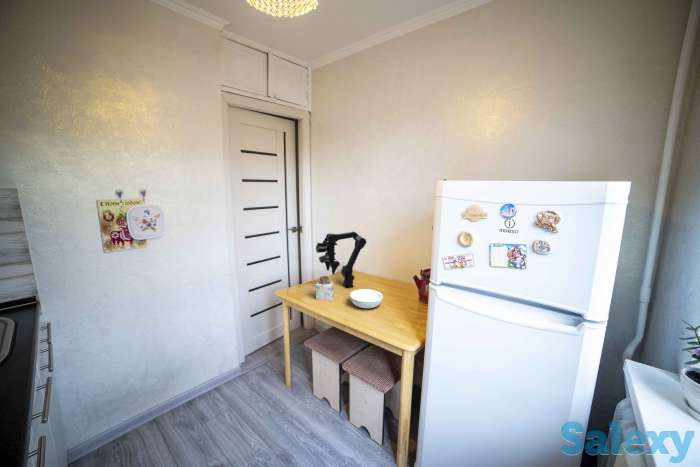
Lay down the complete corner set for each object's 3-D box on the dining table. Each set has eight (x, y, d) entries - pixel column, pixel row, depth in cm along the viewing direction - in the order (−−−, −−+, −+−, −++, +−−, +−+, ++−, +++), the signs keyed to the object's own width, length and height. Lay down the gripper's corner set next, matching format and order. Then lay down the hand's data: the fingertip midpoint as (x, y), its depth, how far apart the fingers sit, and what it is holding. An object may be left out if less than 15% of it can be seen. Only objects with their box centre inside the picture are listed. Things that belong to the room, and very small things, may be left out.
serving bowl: (378, 314, 163) (379, 303, 162) (345, 309, 169) (345, 298, 168) (385, 300, 183) (385, 291, 182) (354, 296, 189) (355, 287, 188)
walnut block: (326, 281, 187) (326, 275, 186) (329, 283, 182) (329, 277, 182) (319, 282, 184) (319, 276, 184) (322, 284, 180) (322, 279, 179)
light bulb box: (333, 296, 188) (333, 281, 186) (331, 300, 181) (331, 285, 180) (317, 295, 189) (317, 280, 187) (315, 299, 182) (315, 284, 181)
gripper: (315, 249, 201) (315, 270, 203) (325, 255, 184) (325, 277, 187) (329, 248, 206) (329, 268, 208) (340, 253, 190) (339, 275, 192)
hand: (330, 272), depth 199 cm, fingers open, 9 cm apart
